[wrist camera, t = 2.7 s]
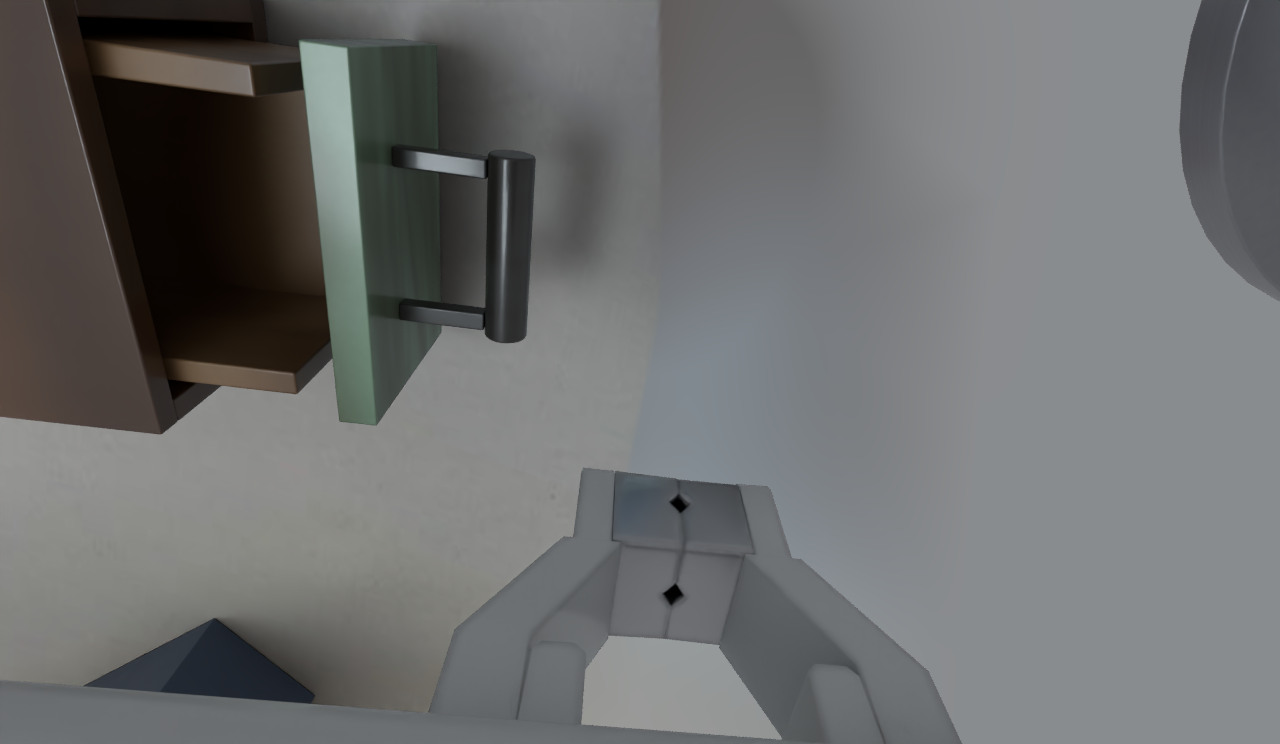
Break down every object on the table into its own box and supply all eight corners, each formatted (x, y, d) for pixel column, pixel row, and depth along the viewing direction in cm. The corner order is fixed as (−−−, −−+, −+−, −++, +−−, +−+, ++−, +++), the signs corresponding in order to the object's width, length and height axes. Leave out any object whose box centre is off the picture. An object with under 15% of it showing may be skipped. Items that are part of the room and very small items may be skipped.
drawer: (559, 62, 22) (523, 71, 15) (541, 344, 27) (508, 441, 20) (24, -17, 21) (-253, -41, 14) (110, 292, 26) (-68, 376, 19)
